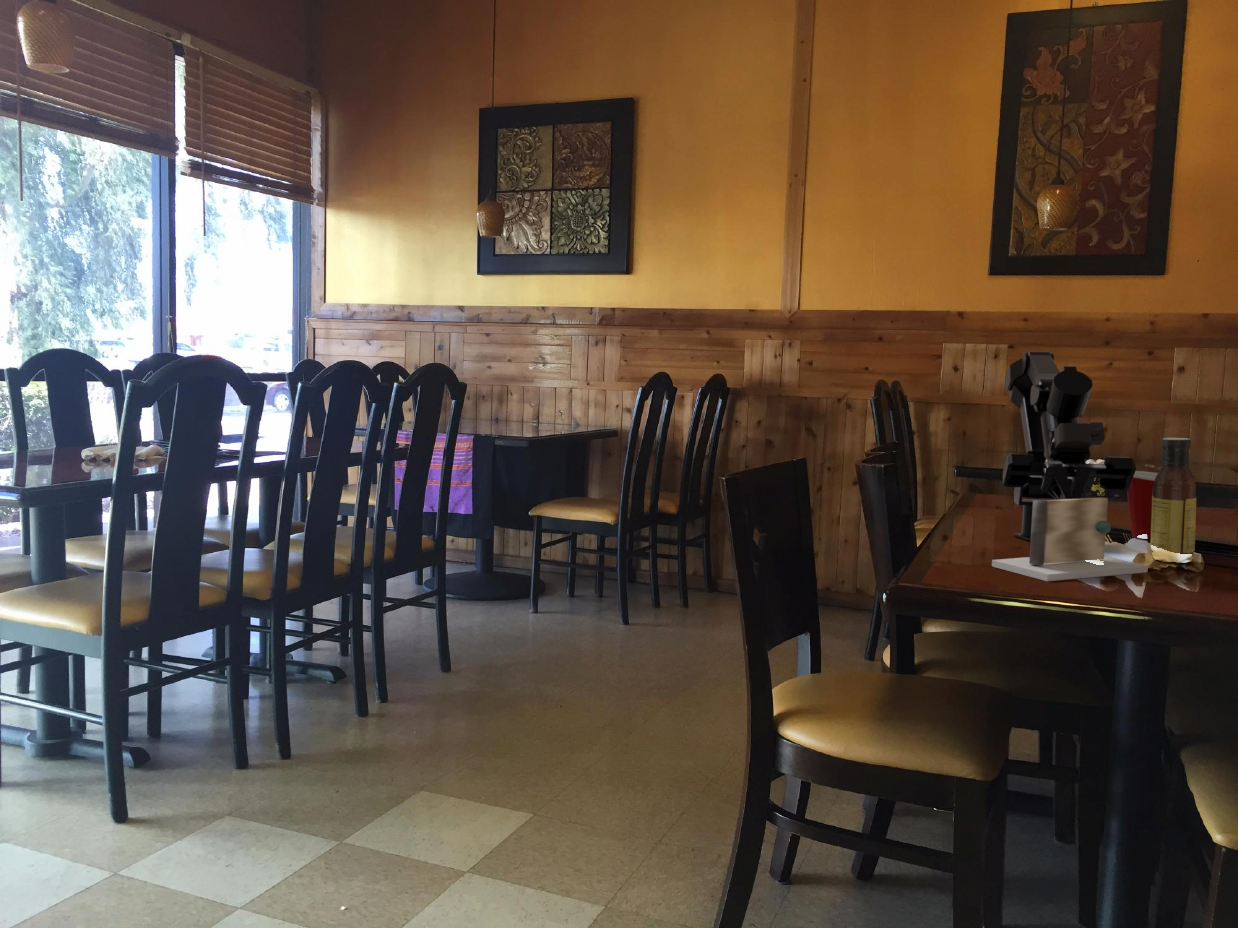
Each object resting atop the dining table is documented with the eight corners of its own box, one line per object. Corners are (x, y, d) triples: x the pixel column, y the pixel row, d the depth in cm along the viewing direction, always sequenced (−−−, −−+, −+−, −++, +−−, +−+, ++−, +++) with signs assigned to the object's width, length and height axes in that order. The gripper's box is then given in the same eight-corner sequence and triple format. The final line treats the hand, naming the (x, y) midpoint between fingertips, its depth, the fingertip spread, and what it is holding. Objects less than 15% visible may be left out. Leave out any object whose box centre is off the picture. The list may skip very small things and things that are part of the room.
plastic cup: (1185, 546, 172) (1190, 478, 171) (1116, 539, 178) (1120, 473, 176) (1185, 537, 181) (1190, 472, 180) (1120, 531, 187) (1124, 468, 186)
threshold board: (1047, 581, 142) (1047, 574, 142) (991, 566, 152) (992, 559, 152) (1147, 572, 149) (1147, 565, 149) (1088, 558, 159) (1088, 552, 159)
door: (1044, 567, 145) (1048, 503, 144) (1026, 562, 148) (1029, 500, 147) (1114, 561, 151) (1119, 499, 150) (1096, 557, 154) (1099, 496, 153)
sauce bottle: (1182, 557, 161) (1191, 437, 159) (1201, 565, 155) (1210, 440, 153) (1140, 556, 162) (1149, 436, 160) (1157, 564, 156) (1166, 439, 154)
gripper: (1009, 403, 157) (1017, 478, 147) (1136, 405, 153) (1153, 483, 143) (999, 448, 165) (1006, 522, 156) (1119, 452, 161) (1134, 529, 152)
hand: (1073, 514), depth 151 cm, fingers closed
